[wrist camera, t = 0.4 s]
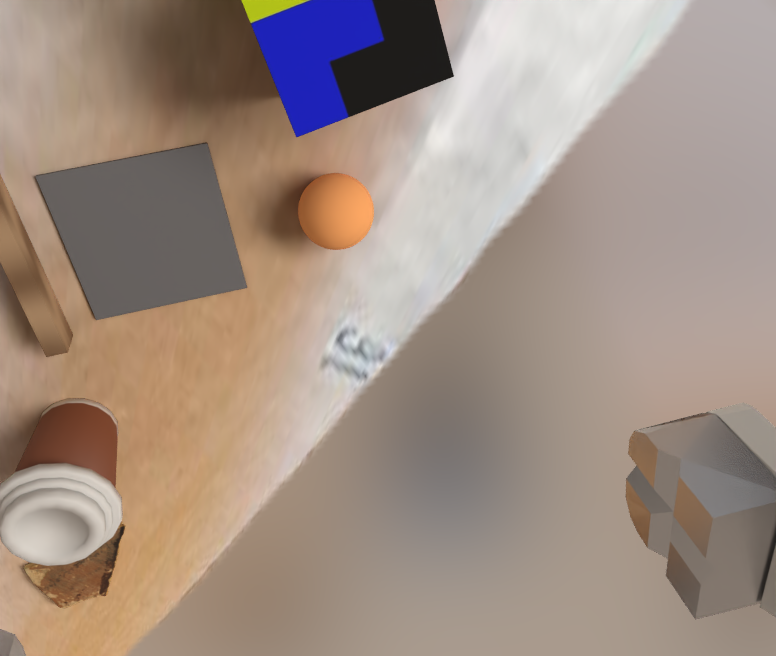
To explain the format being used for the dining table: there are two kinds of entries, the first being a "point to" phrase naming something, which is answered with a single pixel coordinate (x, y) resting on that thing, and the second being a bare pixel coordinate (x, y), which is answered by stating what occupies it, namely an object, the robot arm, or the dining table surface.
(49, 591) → the shard
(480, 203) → the dining table surface
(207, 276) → the mark
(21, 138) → the dining table surface
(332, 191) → the ball
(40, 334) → the brown long bar
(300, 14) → the puzzle toy
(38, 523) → the coffee cup
